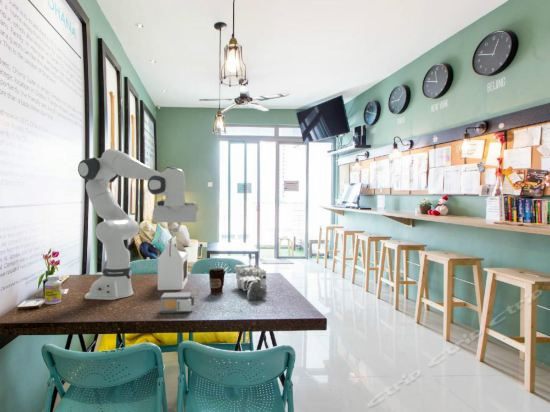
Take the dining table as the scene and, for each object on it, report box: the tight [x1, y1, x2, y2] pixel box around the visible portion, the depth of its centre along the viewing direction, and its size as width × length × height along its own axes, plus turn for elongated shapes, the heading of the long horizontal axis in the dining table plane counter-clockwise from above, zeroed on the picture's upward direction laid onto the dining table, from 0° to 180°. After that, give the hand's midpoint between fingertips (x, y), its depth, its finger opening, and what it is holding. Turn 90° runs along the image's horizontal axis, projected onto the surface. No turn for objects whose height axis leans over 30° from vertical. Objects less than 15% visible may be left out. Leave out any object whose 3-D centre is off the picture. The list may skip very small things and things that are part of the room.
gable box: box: [157, 235, 189, 291], centre depth 207 cm, size 22×13×28 cm, turn 6°
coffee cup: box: [208, 267, 226, 295], centre depth 190 cm, size 9×8×13 cm
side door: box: [177, 299, 192, 312], centre depth 156 cm, size 6×2×5 cm, turn 95°
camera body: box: [159, 291, 195, 314], centre depth 160 cm, size 14×8×7 cm, turn 95°
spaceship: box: [234, 264, 268, 301], centre depth 193 cm, size 16×35×12 cm, turn 17°
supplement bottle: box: [44, 274, 62, 305], centre depth 170 cm, size 7×7×13 cm
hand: (175, 232), depth 167 cm, fingers closed
